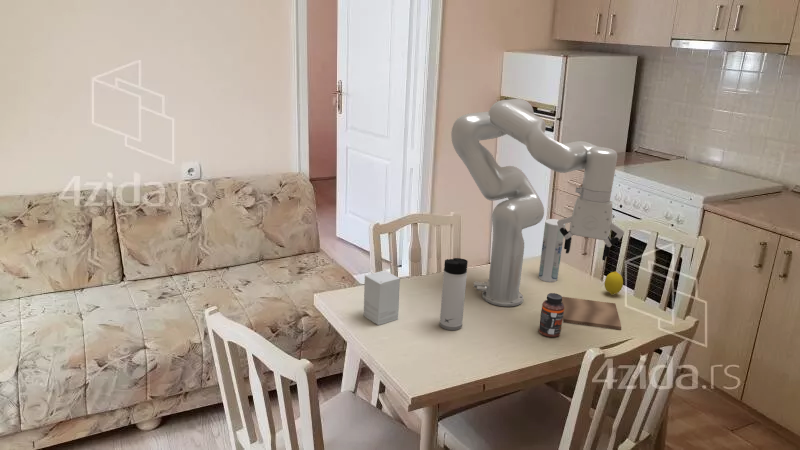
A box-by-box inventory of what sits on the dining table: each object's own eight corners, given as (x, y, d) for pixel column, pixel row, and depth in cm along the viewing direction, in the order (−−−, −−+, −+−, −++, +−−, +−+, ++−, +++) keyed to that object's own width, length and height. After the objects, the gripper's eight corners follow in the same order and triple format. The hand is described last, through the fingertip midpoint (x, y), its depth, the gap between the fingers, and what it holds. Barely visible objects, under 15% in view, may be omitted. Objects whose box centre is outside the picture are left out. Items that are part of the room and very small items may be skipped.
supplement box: (398, 319, 181) (401, 278, 177) (377, 326, 176) (379, 283, 172) (383, 309, 186) (385, 269, 182) (362, 315, 182) (363, 274, 178)
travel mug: (447, 333, 174) (453, 265, 168) (435, 322, 180) (440, 256, 174) (466, 329, 177) (473, 261, 171) (454, 318, 183) (459, 253, 176)
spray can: (540, 273, 219) (547, 217, 212) (559, 277, 216) (567, 220, 210) (536, 279, 213) (543, 222, 207) (555, 283, 211) (563, 226, 204)
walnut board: (563, 322, 184) (563, 319, 184) (561, 299, 199) (561, 296, 199) (620, 330, 181) (621, 326, 181) (614, 306, 196) (615, 303, 196)
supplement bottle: (556, 340, 174) (561, 302, 170) (535, 333, 177) (540, 296, 173) (563, 332, 178) (568, 295, 175) (542, 325, 181) (547, 289, 178)
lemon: (621, 299, 202) (625, 275, 199) (603, 297, 203) (607, 273, 200) (619, 292, 207) (623, 269, 204) (602, 290, 208) (605, 267, 205)
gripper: (560, 193, 167) (551, 253, 173) (629, 203, 161) (617, 266, 167) (564, 186, 174) (555, 245, 179) (631, 196, 168) (619, 257, 174)
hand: (585, 255), depth 173 cm, fingers open, 9 cm apart
